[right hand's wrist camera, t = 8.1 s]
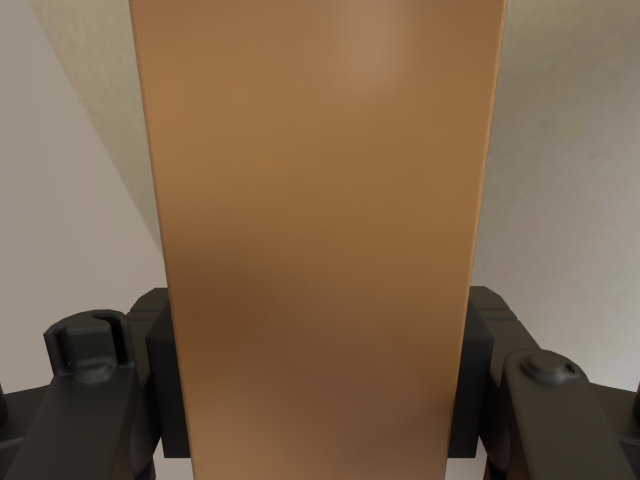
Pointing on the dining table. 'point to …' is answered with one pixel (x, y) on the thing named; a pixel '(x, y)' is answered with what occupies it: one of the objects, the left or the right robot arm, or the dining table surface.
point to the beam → (318, 223)
